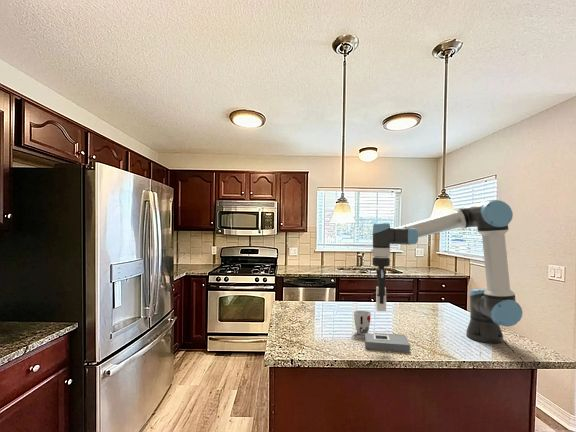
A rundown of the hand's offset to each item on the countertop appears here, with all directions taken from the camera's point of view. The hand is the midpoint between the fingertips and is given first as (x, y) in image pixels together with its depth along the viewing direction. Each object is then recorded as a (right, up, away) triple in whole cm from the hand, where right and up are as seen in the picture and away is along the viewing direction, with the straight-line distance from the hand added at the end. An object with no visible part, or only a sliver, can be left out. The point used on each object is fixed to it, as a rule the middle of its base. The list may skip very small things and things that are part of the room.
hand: (380, 309), depth 148 cm
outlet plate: (+2, -16, -2) cm, 16 cm away
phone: (+7, -17, +9) cm, 20 cm away
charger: (0, 0, 0) cm, 0 cm away
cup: (-5, -16, +16) cm, 23 cm away
